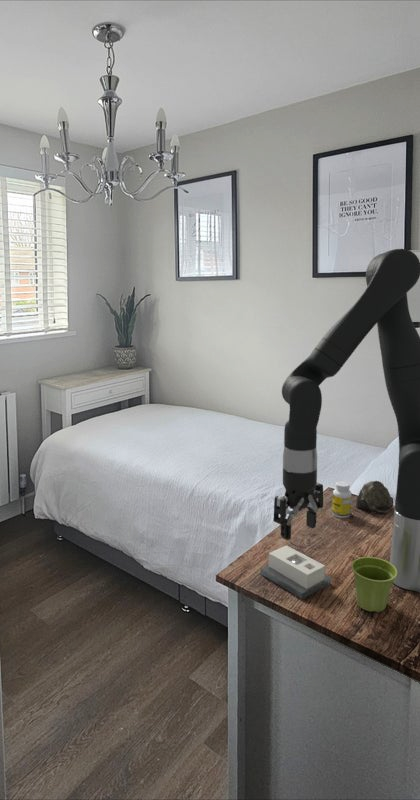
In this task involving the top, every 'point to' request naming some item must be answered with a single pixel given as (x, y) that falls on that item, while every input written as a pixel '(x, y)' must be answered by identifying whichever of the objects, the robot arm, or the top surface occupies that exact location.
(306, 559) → the white block with recesses
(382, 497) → the fossil
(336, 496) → the supplement bottle
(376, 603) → the plant pot
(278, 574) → the base plate
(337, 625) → the top surface
